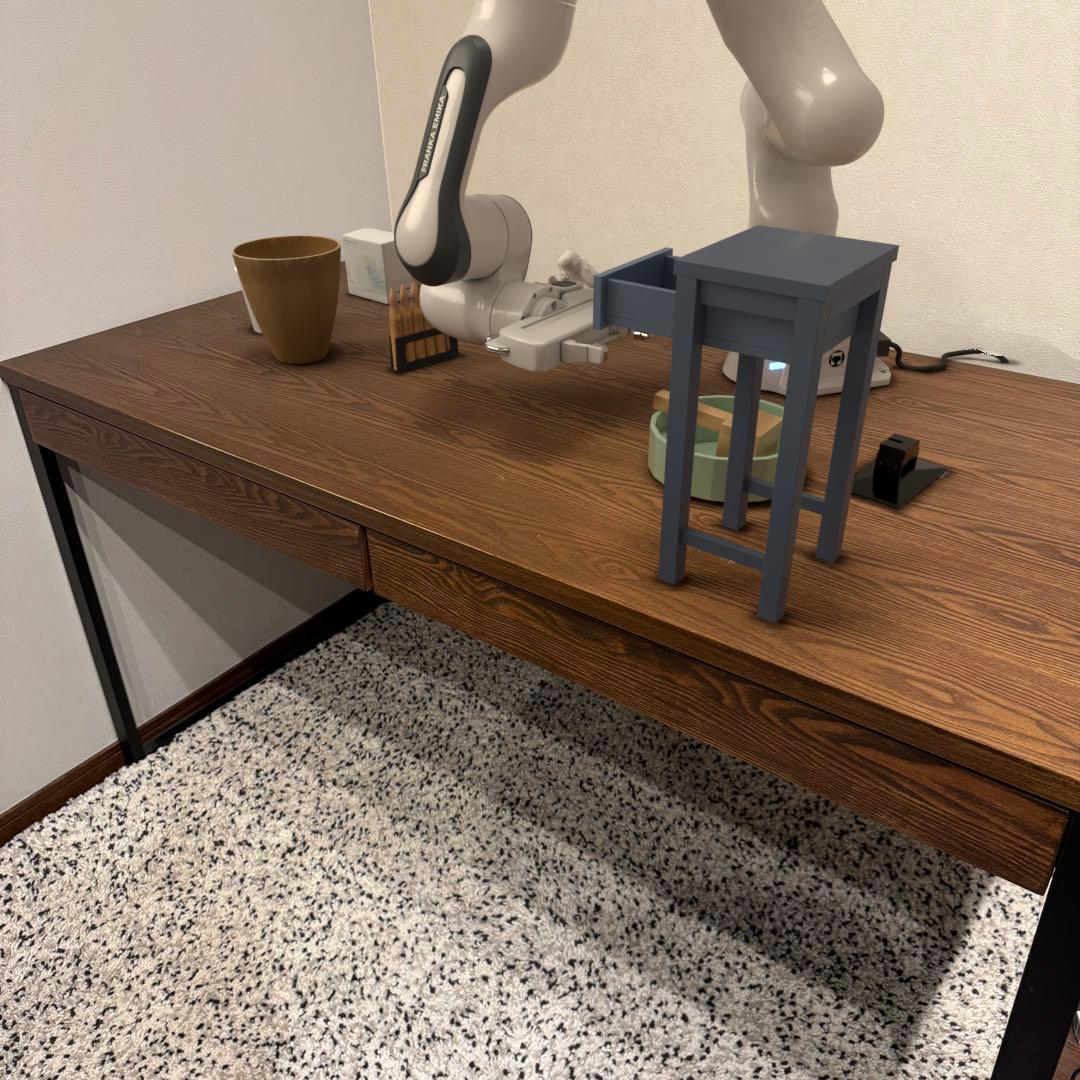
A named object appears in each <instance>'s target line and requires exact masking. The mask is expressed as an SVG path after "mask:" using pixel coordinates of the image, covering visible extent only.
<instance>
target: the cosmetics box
mask: <svg viewBox="0 0 1080 1080" xmlns="http://www.w3.org/2000/svg"><path fill="white" fill-rule="evenodd" d="M341 239H342V247H343V254H344V261H345V262H344V263H345V271H346V280H347V286H348V294H350V295H352V296H357V297H361V298H363V299H368V300H371V301H375V302H379V303H381V304H386V305H390V304H389V294H390V289H391V286H393V287H394V289H395V292H396V295H397V300H398V302H400V290H401V286H402V284H404V285H405V287H406V290H407V294H408V299H410V298H411V286H412V282H413V277H412V276H411V275H410V274H409V272H408V271H407V270H406V269H405V267H404V266H403V264H402V263H401V261H400V259H399V257H398V255H397V252H396V249H395V244H394V232H391V231H386V230H382V229H378V228H372V227H364V228H360V229H357V230H353V231H349V232H347V233H343V234H341Z"/></svg>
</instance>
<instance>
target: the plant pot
mask: <svg viewBox="0 0 1080 1080" xmlns="http://www.w3.org/2000/svg"><path fill="white" fill-rule="evenodd" d="M230 253H231V255H232V258H233V262H234V265H235V266H236V268H237V271H238V274H239V277H240V280H241V283H242V286H243V289H244V292H245V294H246V297H247V300H248V302H249V305H250V307H251V309H252V312H253V314H254V316H255V318H256V321H257V323H258V325H259V327H260V329H261V331H262V333H261V334H262V335H263V337H264V339H265V341H266V343H267V344H268V347H269V349H270V350H271V352H272V354H273V356H274V358H276V360H277V361H278V362H280V363H283V364H289V365H303V364H304V365H305V364H310V363H311V364H312V363H316V362H318V361H322V360H323V359H325V358H326V357H327V356H328V352H329V349H330V345H331V341H332V337H333V336H332V335H333V332H334V328H335V327H334V326H335V322H336V317H337V308H338V301H339V295H340V294H339V293H340V281H341V264H342V263H341V262H342V260H341V258H342V244H341V241H339V240H337V239H335V238H332V237H327V236H321V235H305V234H301V235H295V234H294V235H293V234H292V235H279V236H271V237H270V236H269V237H263V238H257V239H252V240H249V241H245V242H242V243H240V244H237V245H236V246H235V245H234V247H233V248H232V249H231V252H230Z"/></svg>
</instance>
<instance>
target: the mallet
mask: <svg viewBox="0 0 1080 1080" xmlns="http://www.w3.org/2000/svg"><path fill="white" fill-rule="evenodd" d="M669 393H670V390H666V389H663V388H662V389H661V390H659V391H657V392H655V393H654V396H653V404H652V409H654V410H657V411H658V410H659V411H662V412H665V413H667V414H668V409H669ZM732 417H733V414H731V413H728V412H725V411H722V410H720V409H717V408H714V407H711V406H708V405H705V404H703V403H700V402H698V410H697V422H696V424H697V425H700V426H703V427H705V428H708V429H711V430H713V431H716V432H719V433H720V434H719V439H718V445H717V450H716V455H715V457H729V447H730V437H731V427H732ZM782 420H783V418H782V417H779V416H776V415H773V414H770V413H767V412H764V411H761V410H758V419H757V428H756V436H755V445H754V454H753V457H766V456H770V455H774V454H776V451H777V447H778V443H779V439H780V434H781V427H782Z"/></svg>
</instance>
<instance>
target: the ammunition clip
mask: <svg viewBox="0 0 1080 1080" xmlns="http://www.w3.org/2000/svg"><path fill="white" fill-rule="evenodd" d="M419 296H420V292H419V290H418V286H417V284H416V282H415V280H412V286H411V297H410V298H408V294H407V290H406V287H405V285H404V284H402V286H401V290H400V301H398V300H397V295H396V292H395V289H394V287H393V286H391V289H390V294H389V304H388V305H389V318H388V319H389V320H388V321H389V331H390V334H389V335H388V339H389V340H388V341H389V355H390V356H389V357H390V358H389V359H390V370H392V371H394V372H395V373H398V374H402V373H405V372H409V371H412V370H415V369H418V368H422V367H426V366H429V365H430V366H431V365H433V364H436V363H440V362H444V361H447V360H451V359H454V358H457V357H459V356H460V351H459V341H458V340H459V339H456V338H454V337H451V336H449V335H446V334H444V333H442V332H440V331H439V330H437V329H436V328H434V327H433V326H432V325H431V324H430V323H429V322H428V321H427V319H426V318H425V316H424V314H423V312H422V310H421V306H420V297H419ZM399 303H400V304H399Z"/></svg>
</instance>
